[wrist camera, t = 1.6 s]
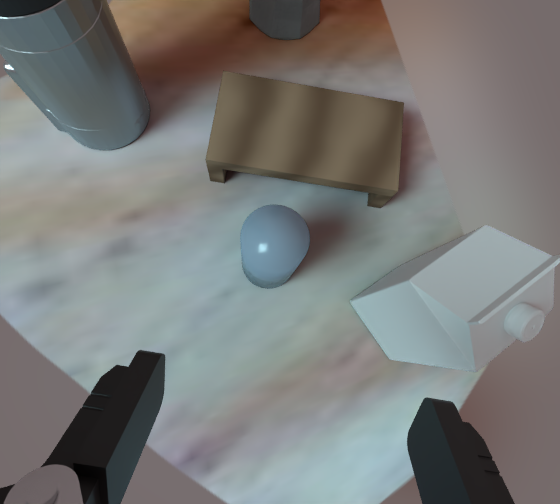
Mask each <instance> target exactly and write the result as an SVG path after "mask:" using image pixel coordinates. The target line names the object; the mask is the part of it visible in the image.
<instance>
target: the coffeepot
mask: <svg viewBox="0 0 560 504" xmlns="http://www.w3.org/2000/svg"><path fill="white" fill-rule="evenodd" d="M319 17H320V0H250V20H251V21H252V22H253V23H254V24H255V25H256V26H257V27H258V28H259V29H260V30H261V31H262V32H263V33H265V34H266V35H268V36H270V37H272V38H276V39H282V40H293V39H300V38H302V37H303V36H305V35H306V34H308V33H309V32H310V31H311V30H312V29H313V28H314V27H315V26H316V25H317V24H318V23H319Z"/></svg>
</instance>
